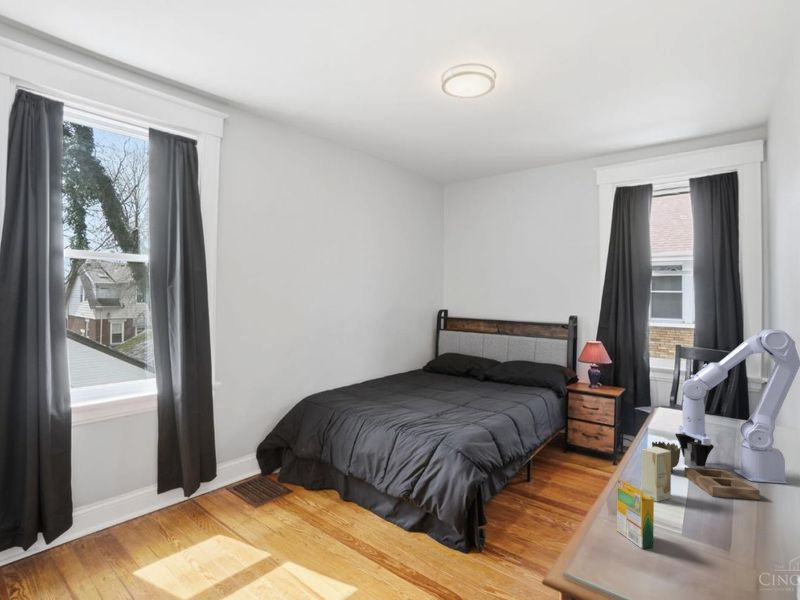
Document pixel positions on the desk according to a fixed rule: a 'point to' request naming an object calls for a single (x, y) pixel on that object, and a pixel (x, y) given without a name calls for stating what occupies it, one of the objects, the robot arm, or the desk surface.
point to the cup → (674, 452)
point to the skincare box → (656, 473)
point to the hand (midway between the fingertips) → (693, 461)
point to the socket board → (721, 483)
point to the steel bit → (690, 457)
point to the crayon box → (635, 514)
